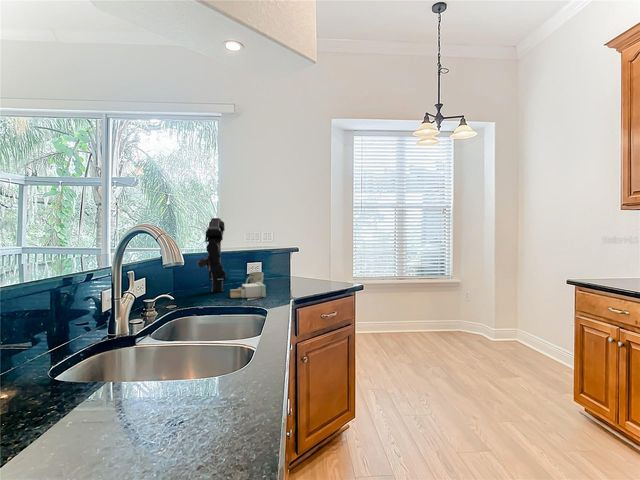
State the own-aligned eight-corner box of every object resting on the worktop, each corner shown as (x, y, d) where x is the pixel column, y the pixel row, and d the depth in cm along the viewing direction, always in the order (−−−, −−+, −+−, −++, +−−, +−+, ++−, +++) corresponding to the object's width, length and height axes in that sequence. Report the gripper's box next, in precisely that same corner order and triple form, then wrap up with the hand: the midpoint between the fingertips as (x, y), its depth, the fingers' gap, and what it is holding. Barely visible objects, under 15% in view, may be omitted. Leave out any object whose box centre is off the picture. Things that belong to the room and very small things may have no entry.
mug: (266, 289, 218) (266, 272, 217) (252, 292, 207) (251, 274, 207) (256, 288, 222) (256, 271, 222) (241, 291, 212) (240, 273, 211)
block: (238, 294, 201) (238, 284, 201) (256, 293, 205) (256, 283, 205) (241, 297, 192) (241, 287, 192) (260, 296, 196) (260, 285, 196)
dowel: (230, 297, 196) (230, 289, 196) (252, 295, 200) (252, 288, 200) (231, 298, 192) (231, 290, 192) (254, 296, 197) (254, 289, 197)
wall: (255, 292, 207) (255, 282, 207) (259, 292, 208) (259, 281, 208) (261, 297, 194) (261, 285, 194) (265, 296, 195) (265, 285, 195)
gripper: (196, 252, 196) (196, 281, 196) (199, 254, 179) (199, 286, 179) (217, 251, 200) (218, 280, 201) (223, 253, 183) (223, 285, 184)
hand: (214, 283), depth 191 cm, fingers closed
